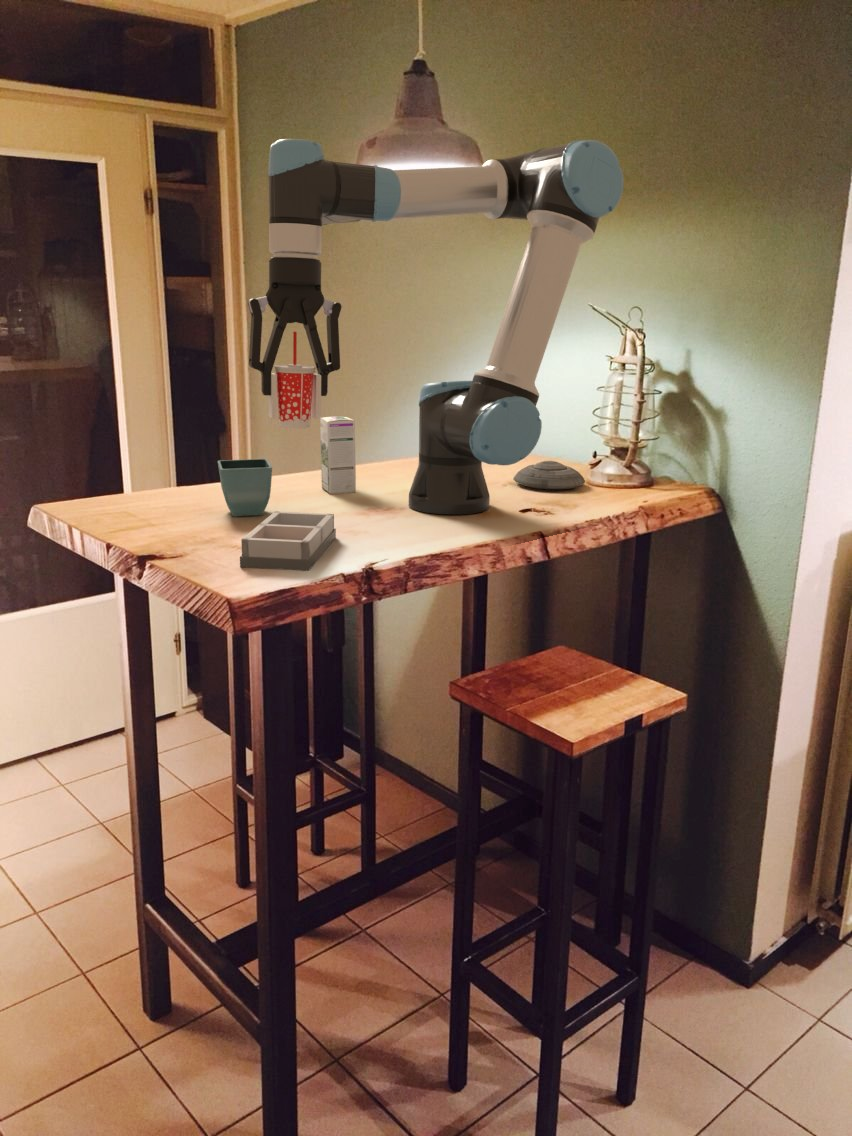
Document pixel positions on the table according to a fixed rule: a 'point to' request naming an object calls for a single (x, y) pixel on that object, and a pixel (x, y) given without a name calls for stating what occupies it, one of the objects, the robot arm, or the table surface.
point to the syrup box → (338, 455)
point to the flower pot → (246, 485)
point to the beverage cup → (294, 392)
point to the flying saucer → (549, 476)
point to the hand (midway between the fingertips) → (294, 417)
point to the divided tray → (288, 541)
